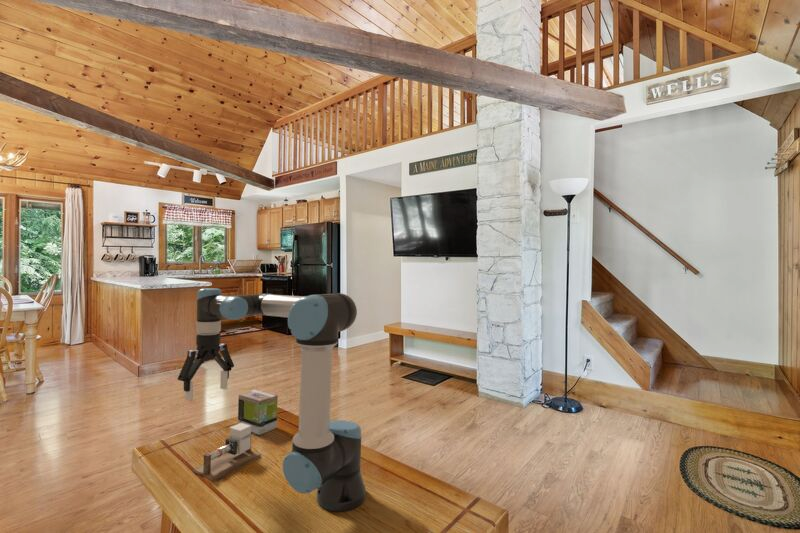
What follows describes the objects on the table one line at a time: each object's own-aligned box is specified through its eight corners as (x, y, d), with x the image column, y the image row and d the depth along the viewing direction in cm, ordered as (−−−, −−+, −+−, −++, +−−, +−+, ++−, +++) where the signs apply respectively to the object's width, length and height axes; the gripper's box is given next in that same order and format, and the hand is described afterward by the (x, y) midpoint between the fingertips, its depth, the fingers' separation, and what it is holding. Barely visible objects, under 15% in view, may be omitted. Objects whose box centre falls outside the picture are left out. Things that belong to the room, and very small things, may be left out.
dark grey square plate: (236, 453, 139) (237, 441, 139) (234, 455, 138) (234, 442, 138) (228, 450, 141) (228, 438, 141) (225, 451, 140) (225, 439, 140)
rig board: (260, 456, 144) (261, 437, 144) (216, 481, 127) (217, 460, 127) (238, 449, 149) (238, 430, 149) (193, 472, 132) (193, 451, 132)
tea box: (277, 427, 170) (278, 394, 170) (258, 436, 161) (259, 401, 161) (256, 419, 178) (256, 388, 178) (236, 427, 169) (237, 394, 169)
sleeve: (250, 448, 144) (250, 425, 144) (239, 454, 139) (240, 430, 139) (240, 445, 146) (240, 422, 146) (229, 450, 142) (229, 427, 142)
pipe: (249, 443, 145) (249, 435, 145) (211, 462, 130) (212, 454, 130) (243, 441, 146) (243, 434, 146) (206, 460, 132) (206, 452, 132)
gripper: (230, 327, 145) (229, 382, 145) (166, 337, 122) (164, 403, 122) (245, 329, 142) (243, 386, 142) (181, 340, 119) (180, 408, 119)
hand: (207, 394), depth 132 cm, fingers open, 13 cm apart
